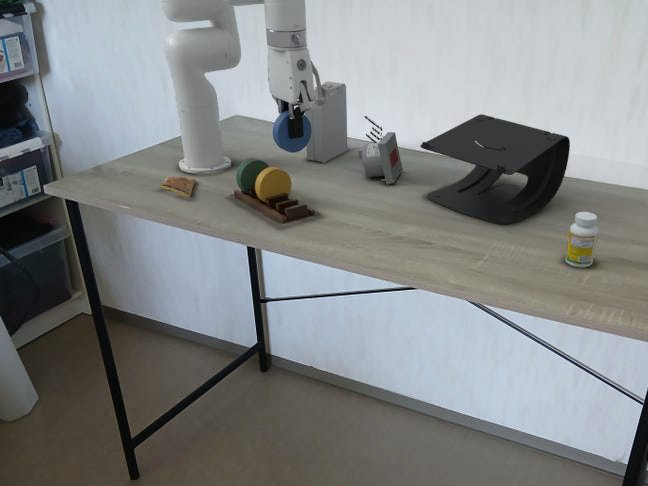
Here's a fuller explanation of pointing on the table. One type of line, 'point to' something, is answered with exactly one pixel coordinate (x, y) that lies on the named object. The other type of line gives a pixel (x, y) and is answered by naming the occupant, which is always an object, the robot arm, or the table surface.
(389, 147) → the voltmeter
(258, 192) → the mustard disc
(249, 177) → the green disc
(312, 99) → the robot arm
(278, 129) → the blue disc
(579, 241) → the supplement bottle
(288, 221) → the disc rack
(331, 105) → the gas can
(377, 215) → the table surface
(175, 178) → the shard
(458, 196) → the laptop stand
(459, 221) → the table surface
